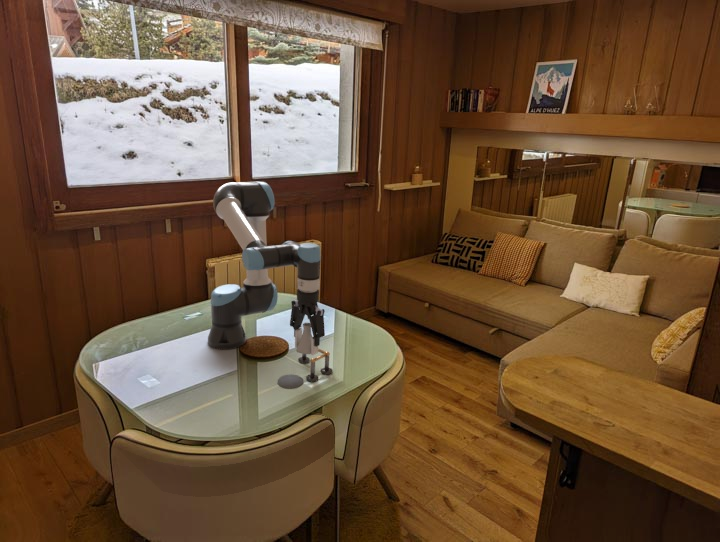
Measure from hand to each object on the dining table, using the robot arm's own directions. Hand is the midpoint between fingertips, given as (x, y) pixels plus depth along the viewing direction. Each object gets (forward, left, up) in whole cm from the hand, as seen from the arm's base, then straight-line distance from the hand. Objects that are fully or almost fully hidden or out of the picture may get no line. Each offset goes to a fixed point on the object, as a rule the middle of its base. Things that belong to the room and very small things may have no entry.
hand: (306, 349), depth 175 cm
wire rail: (-4, +6, -12) cm, 14 cm away
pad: (-2, -5, -12) cm, 13 cm away
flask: (0, 0, 0) cm, 0 cm away
